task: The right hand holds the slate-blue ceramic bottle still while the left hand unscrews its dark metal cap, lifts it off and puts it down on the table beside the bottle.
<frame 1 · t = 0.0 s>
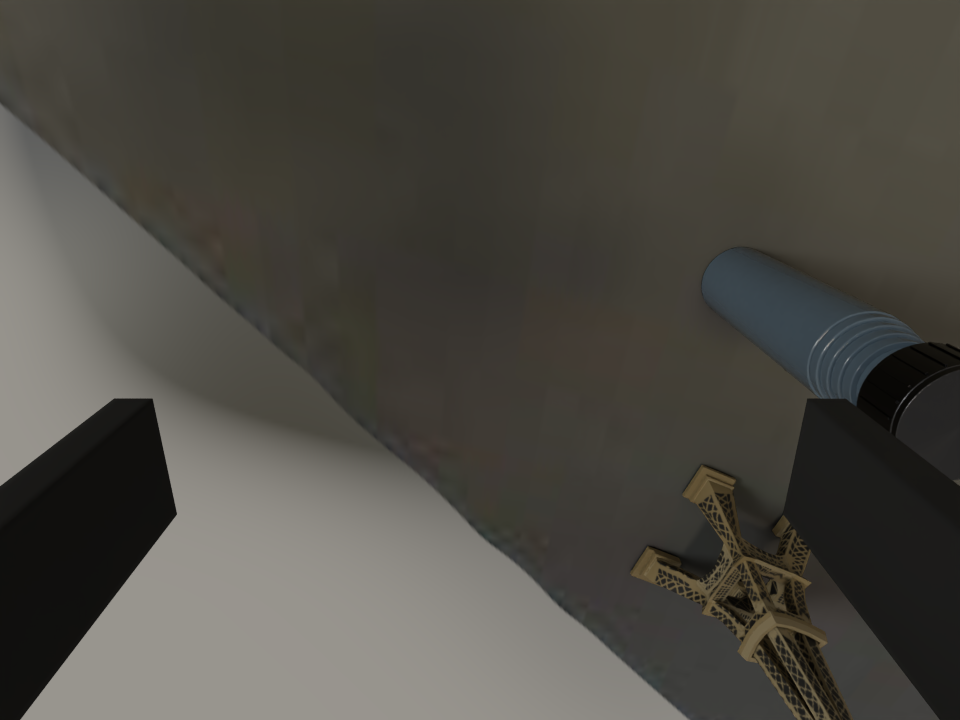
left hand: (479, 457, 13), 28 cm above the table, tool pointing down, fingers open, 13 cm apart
eiffel tower: (724, 542, 47), on the table
bottle: (736, 282, 40), on the table
cap: (955, 422, 22), point 20 cm above the table, screwed on, not yet turned
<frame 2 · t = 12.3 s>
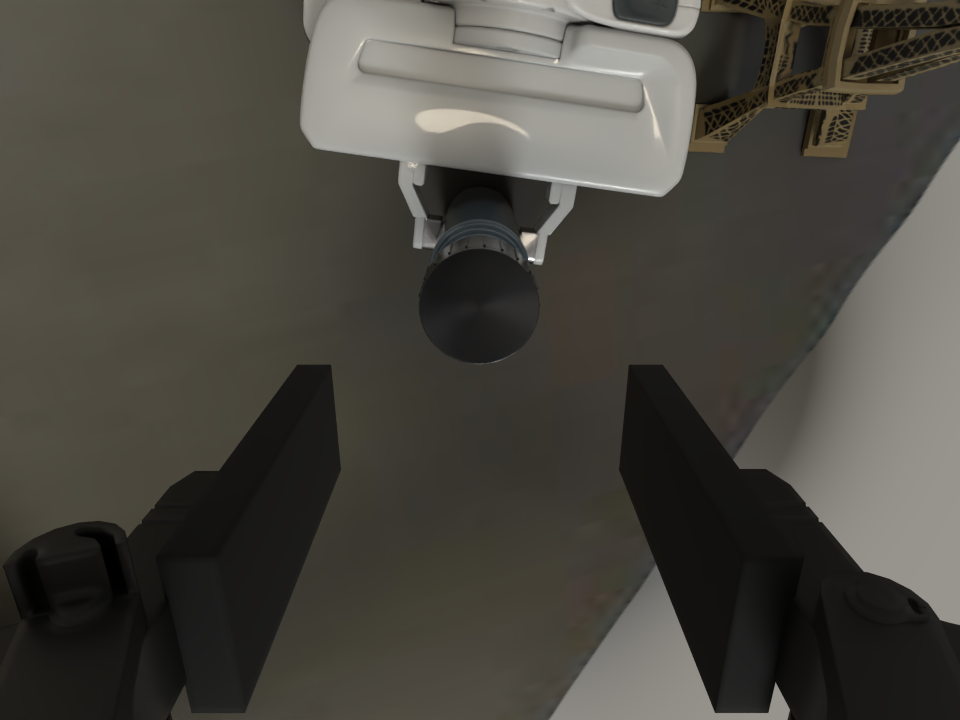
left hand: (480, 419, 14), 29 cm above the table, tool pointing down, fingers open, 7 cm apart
eiffel tower: (777, 62, 38), on the table
bottle: (479, 222, 41), on the table, touching right hand
cap: (479, 306, 23), point 20 cm above the table, screwed on, not yet turned
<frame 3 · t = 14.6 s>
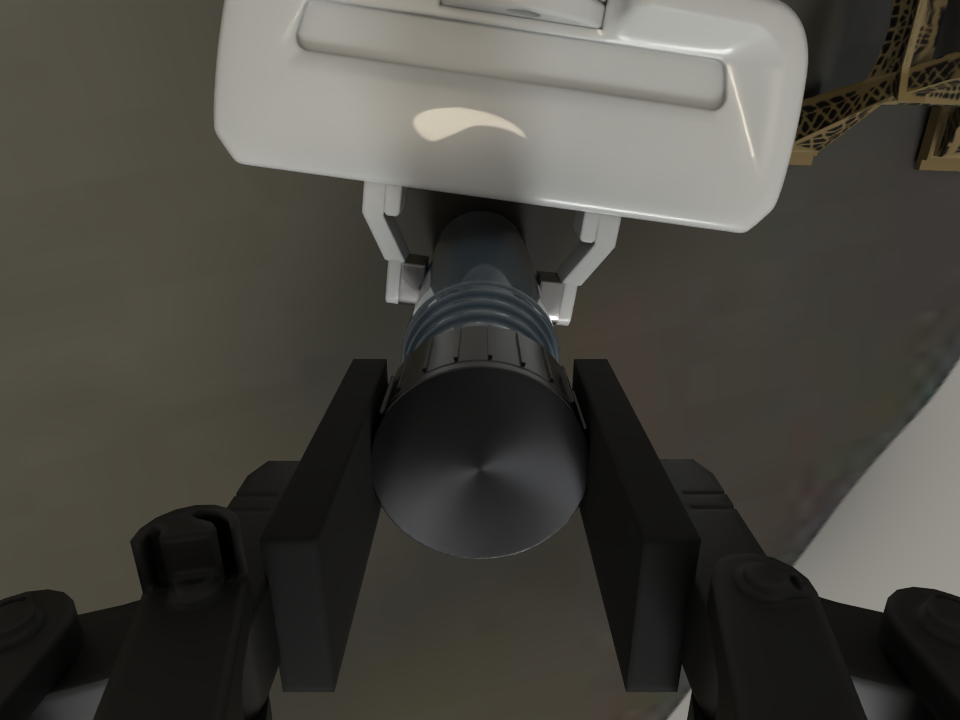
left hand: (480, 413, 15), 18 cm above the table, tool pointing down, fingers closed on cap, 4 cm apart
eiffel tower: (889, 42, 27), on the table
bottle: (480, 256, 31), on the table, touching right hand
cap: (480, 461, 13), point 20 cm above the table, screwed on, not yet turned, touching left hand
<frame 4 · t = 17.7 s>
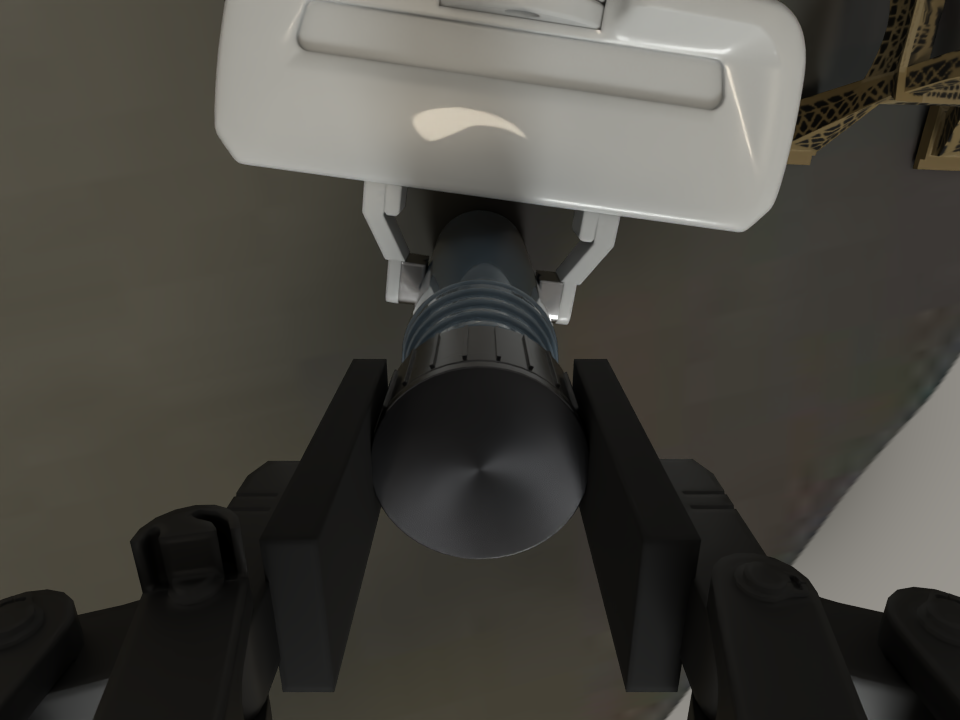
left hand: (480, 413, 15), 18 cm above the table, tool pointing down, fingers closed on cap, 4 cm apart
eiffel tower: (887, 42, 28), on the table
bottle: (480, 256, 31), on the table, touching right hand
cap: (479, 461, 13), point 20 cm above the table, turned 115° so far, risen 0.1 cm, still on its thread, touching left hand
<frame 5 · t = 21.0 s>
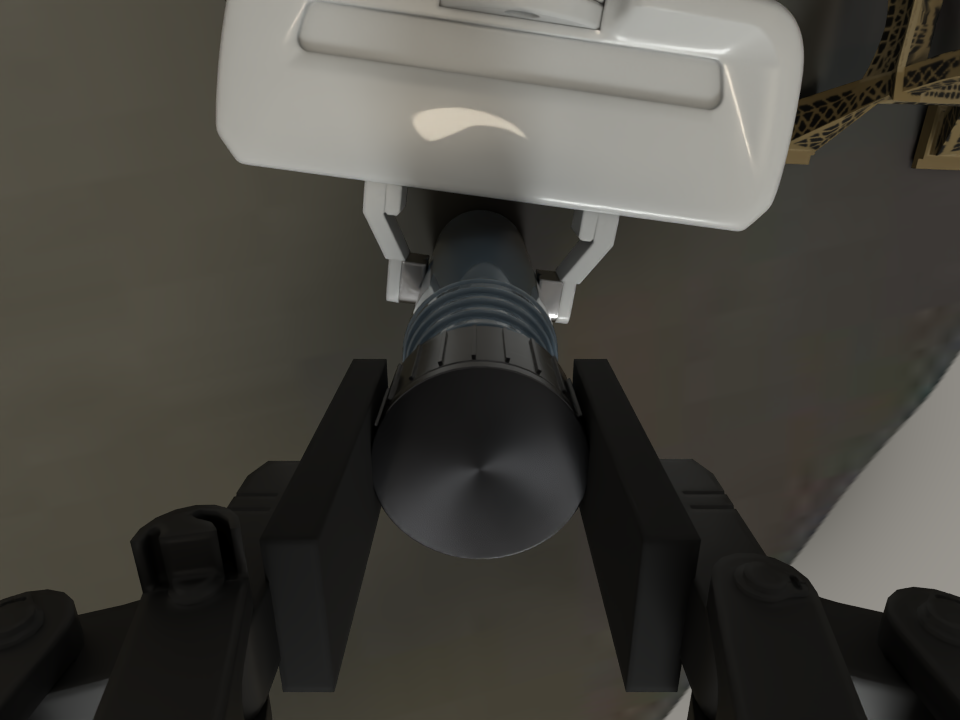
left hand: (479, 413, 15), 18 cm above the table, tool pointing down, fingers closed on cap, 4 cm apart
eiffel tower: (886, 41, 28), on the table
bottle: (480, 255, 31), on the table, touching right hand
cap: (480, 461, 13), point 20 cm above the table, turned 231° so far, risen 0.2 cm, still on its thread, touching left hand
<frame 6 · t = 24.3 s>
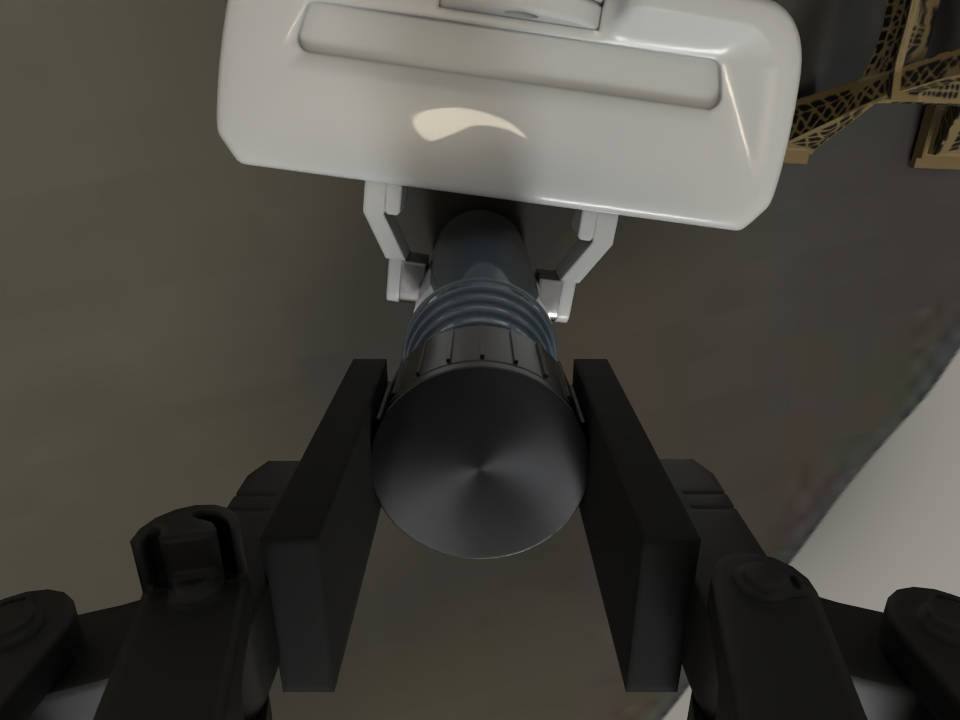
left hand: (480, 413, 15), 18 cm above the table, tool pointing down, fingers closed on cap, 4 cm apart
eiffel tower: (884, 41, 28), on the table
bottle: (480, 255, 31), on the table, touching right hand
cap: (479, 461, 13), point 20 cm above the table, turned 346° so far, risen 0.4 cm, still on its thread, touching left hand
when the left hand's fingers open (1 cm above the table, at t = 31.0 s): cap drops 1 cm, point 2 cm above the table.
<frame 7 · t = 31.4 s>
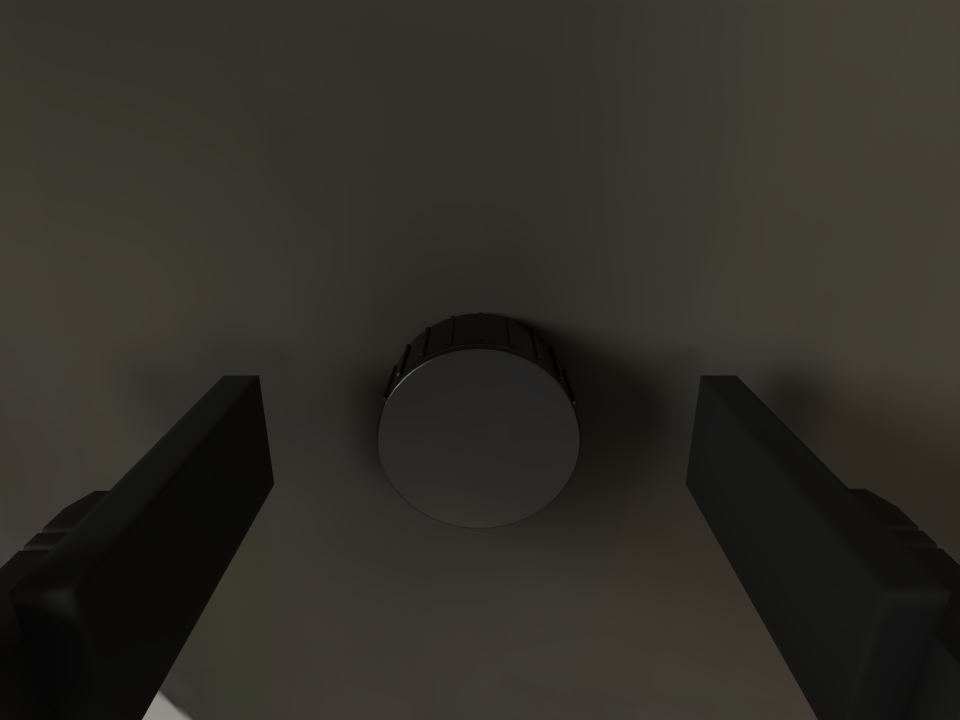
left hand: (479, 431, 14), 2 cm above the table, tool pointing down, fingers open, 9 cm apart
cap: (478, 437, 14), point 2 cm above the table, off its thread
when the right hand's fingers open (6 cm above the table, at t = 32.3 s): bottle stays where it is, on the table.
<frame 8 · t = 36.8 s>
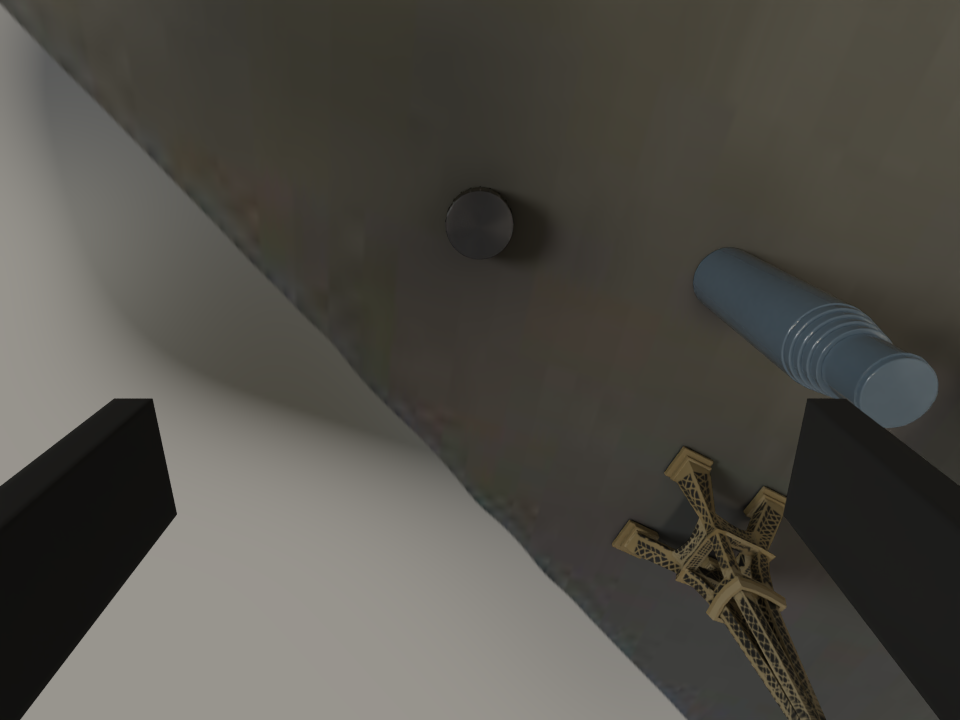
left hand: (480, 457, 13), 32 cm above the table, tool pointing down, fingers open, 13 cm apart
eiffel tower: (699, 520, 52), on the table
bottle: (725, 279, 44), on the table
cap: (479, 225, 41), point 2 cm above the table, off its thread
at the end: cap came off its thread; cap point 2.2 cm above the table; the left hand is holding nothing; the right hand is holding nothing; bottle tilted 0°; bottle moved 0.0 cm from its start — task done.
